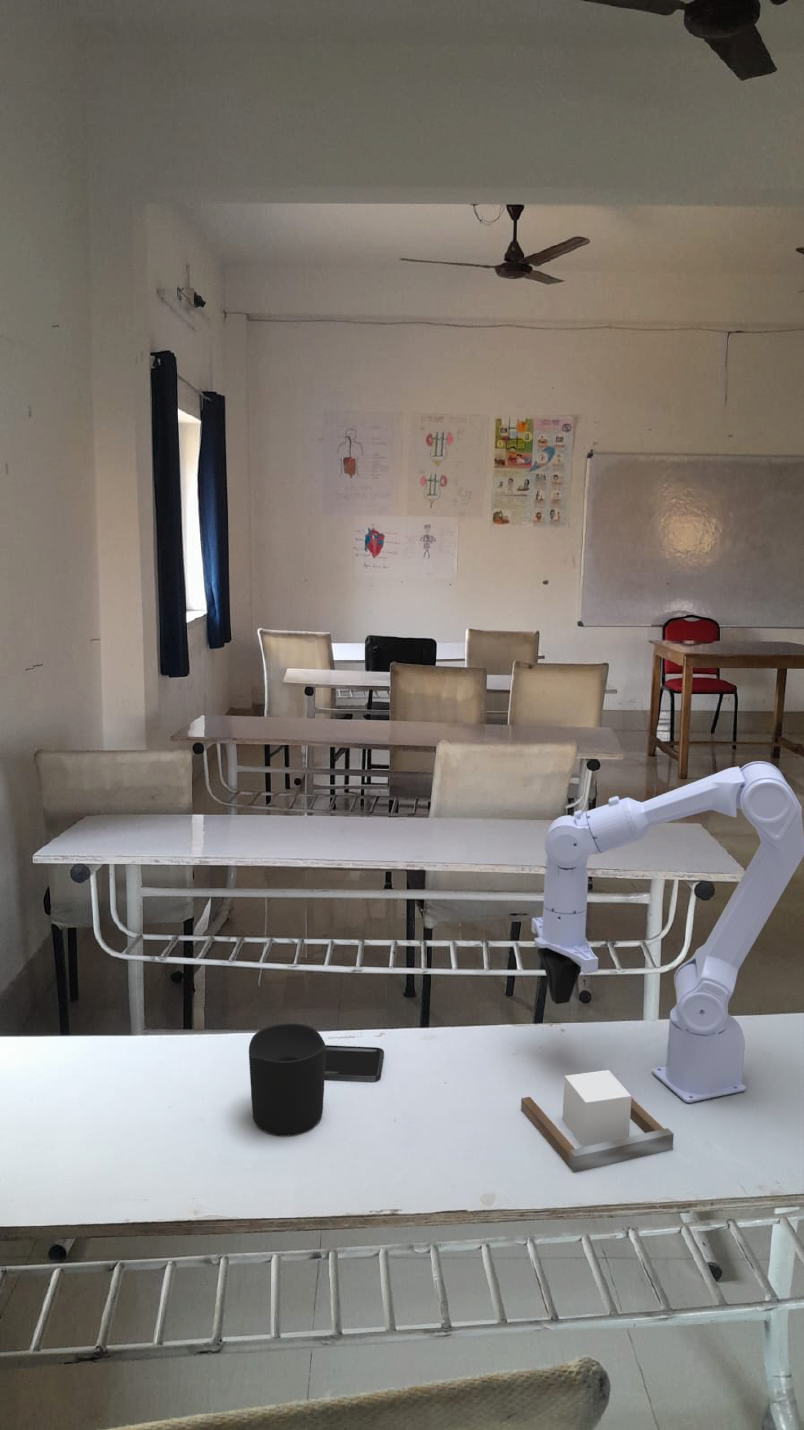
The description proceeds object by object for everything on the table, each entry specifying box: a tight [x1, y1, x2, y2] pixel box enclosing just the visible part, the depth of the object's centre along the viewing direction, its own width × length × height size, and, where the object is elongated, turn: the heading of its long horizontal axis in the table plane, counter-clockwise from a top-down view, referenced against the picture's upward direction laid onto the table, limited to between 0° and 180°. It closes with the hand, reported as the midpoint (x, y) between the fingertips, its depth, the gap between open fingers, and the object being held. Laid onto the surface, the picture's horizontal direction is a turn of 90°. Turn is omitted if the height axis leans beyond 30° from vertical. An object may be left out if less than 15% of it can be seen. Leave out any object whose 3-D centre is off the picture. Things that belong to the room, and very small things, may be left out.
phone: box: [324, 1044, 385, 1083], centre depth 132 cm, size 8×1×15 cm
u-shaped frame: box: [520, 1096, 675, 1173], centre depth 119 cm, size 13×13×2 cm
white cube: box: [562, 1069, 633, 1148], centre depth 118 cm, size 6×6×6 cm
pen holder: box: [248, 1023, 327, 1137], centre depth 119 cm, size 9×9×10 cm
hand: (560, 1001), depth 132 cm, fingers closed
